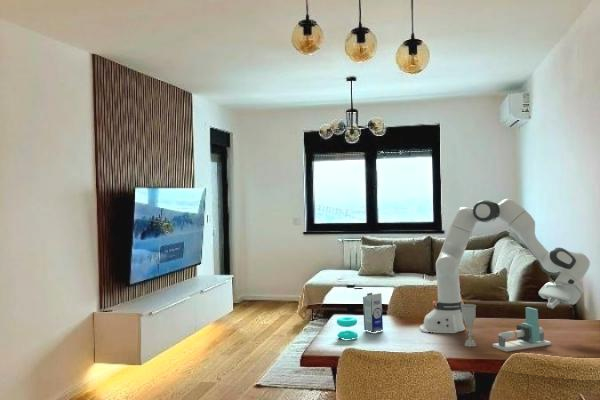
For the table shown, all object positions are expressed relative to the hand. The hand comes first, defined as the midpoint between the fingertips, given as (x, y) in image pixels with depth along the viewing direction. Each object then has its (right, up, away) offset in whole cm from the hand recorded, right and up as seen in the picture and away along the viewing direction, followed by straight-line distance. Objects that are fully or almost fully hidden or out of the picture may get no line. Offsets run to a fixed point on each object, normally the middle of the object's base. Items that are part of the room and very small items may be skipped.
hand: (549, 307), depth 252 cm
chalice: (-37, -17, -1) cm, 40 cm away
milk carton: (-76, -19, +32) cm, 85 cm away
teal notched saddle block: (-10, -14, -4) cm, 18 cm away
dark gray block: (-14, -14, -5) cm, 20 cm away
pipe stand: (-15, -16, -5) cm, 23 cm away
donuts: (-90, -20, +20) cm, 95 cm away
